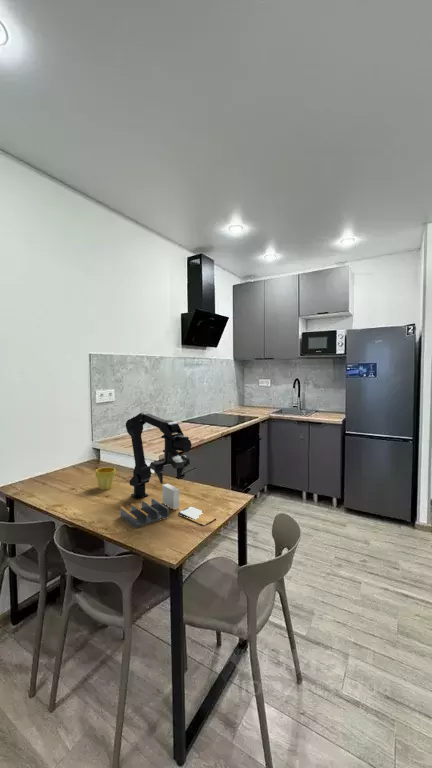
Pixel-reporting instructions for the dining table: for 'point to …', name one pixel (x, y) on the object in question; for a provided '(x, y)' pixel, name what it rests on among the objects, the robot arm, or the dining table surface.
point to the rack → (144, 513)
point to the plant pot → (105, 477)
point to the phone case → (191, 512)
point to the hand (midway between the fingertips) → (170, 481)
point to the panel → (170, 496)
